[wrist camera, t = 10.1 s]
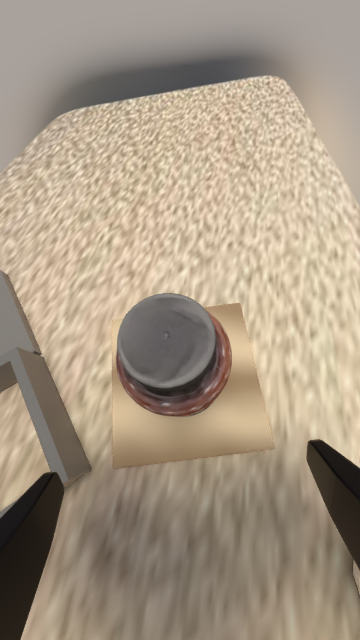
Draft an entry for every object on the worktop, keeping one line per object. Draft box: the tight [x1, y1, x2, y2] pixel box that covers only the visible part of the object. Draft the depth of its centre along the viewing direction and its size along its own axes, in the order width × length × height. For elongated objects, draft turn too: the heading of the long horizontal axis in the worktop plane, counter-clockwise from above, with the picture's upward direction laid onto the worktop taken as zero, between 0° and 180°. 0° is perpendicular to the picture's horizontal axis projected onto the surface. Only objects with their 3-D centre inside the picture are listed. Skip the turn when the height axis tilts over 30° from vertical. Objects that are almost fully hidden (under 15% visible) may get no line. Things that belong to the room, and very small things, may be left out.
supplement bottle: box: [116, 293, 232, 417], centre depth 15 cm, size 6×6×11 cm
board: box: [112, 303, 275, 469], centre depth 20 cm, size 12×12×1 cm
